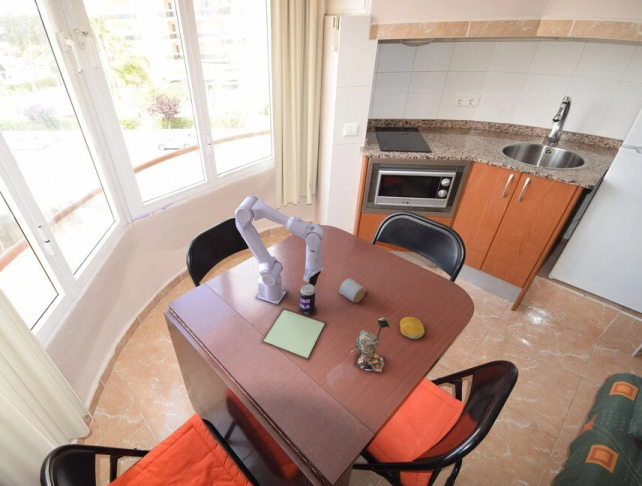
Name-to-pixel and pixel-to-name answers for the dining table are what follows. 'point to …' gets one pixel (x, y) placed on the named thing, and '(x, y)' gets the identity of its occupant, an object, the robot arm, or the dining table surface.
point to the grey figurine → (370, 348)
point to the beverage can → (307, 299)
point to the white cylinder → (352, 290)
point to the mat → (294, 333)
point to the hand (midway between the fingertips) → (312, 284)
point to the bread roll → (411, 327)
